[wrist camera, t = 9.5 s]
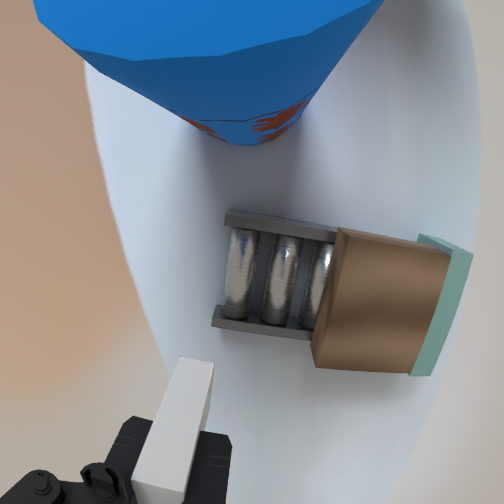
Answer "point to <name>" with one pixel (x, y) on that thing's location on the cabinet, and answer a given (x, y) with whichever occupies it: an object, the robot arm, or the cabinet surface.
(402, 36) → the cabinet surface
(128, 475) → the robot arm
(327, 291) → the slab
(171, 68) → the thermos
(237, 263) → the roller bed
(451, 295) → the stop block
